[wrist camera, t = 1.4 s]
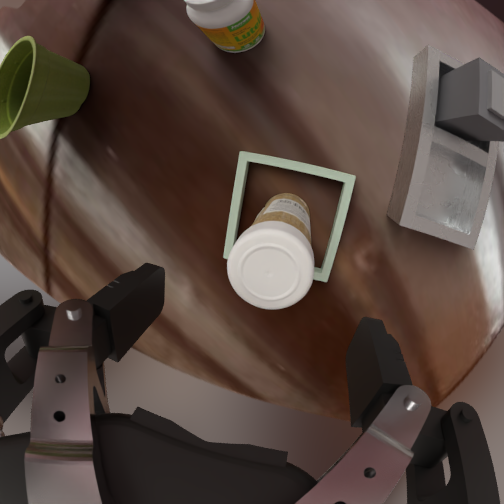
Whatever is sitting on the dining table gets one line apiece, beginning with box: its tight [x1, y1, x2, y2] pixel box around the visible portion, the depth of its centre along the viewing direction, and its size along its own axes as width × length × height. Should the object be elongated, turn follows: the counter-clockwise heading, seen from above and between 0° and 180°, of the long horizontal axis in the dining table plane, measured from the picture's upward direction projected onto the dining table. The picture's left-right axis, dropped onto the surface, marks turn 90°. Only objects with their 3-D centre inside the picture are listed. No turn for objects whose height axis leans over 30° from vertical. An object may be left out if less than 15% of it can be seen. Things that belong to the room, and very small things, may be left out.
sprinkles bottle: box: [227, 193, 314, 309], centre depth 20 cm, size 5×5×14 cm
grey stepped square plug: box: [434, 58, 504, 141], centre depth 14 cm, size 5×5×10 cm
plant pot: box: [0, 36, 90, 139], centre depth 20 cm, size 12×12×11 cm
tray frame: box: [223, 151, 356, 282], centre depth 26 cm, size 11×11×1 cm
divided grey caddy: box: [387, 45, 499, 250], centre depth 19 cm, size 9×17×4 cm, turn 170°
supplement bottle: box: [184, 0, 265, 53], centre depth 16 cm, size 5×5×10 cm
